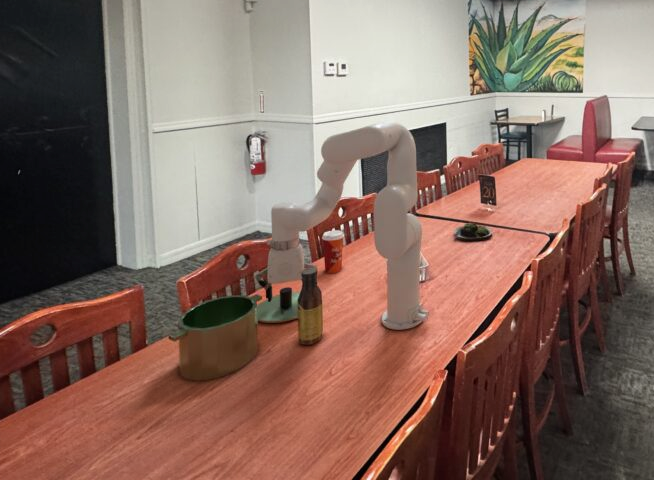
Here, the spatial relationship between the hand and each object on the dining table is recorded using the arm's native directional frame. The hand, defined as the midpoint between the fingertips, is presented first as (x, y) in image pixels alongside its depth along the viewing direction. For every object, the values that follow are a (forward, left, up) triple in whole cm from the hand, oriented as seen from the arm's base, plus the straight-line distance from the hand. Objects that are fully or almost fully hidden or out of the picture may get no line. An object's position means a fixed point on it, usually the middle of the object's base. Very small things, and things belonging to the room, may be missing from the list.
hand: (287, 297), depth 139 cm
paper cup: (+9, -27, -4) cm, 29 cm away
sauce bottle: (-20, +8, -4) cm, 22 cm away
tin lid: (+1, 0, -3) cm, 3 cm away
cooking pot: (-6, +24, -4) cm, 25 cm away
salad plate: (-19, -82, -4) cm, 84 cm away
